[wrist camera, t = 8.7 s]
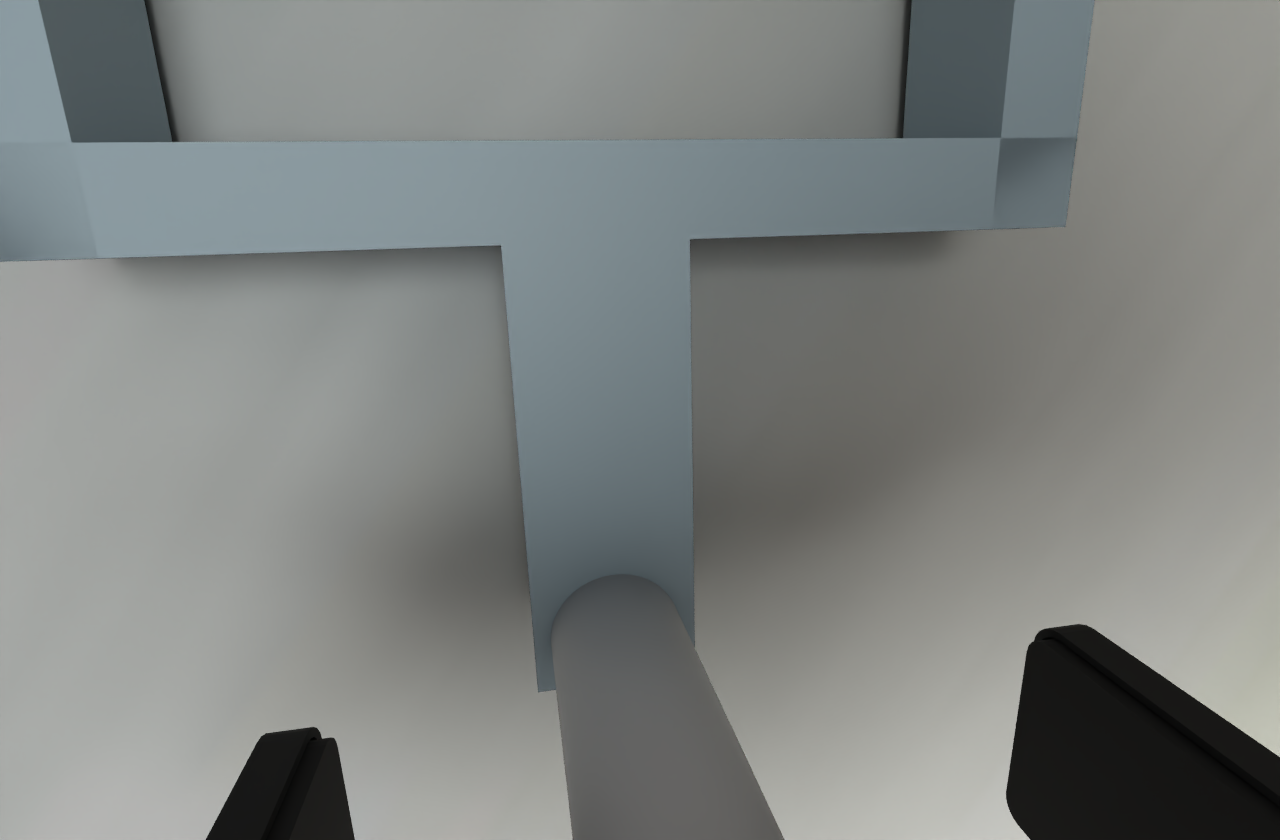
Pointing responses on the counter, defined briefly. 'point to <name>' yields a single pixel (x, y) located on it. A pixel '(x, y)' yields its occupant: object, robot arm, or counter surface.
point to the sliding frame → (562, 310)
